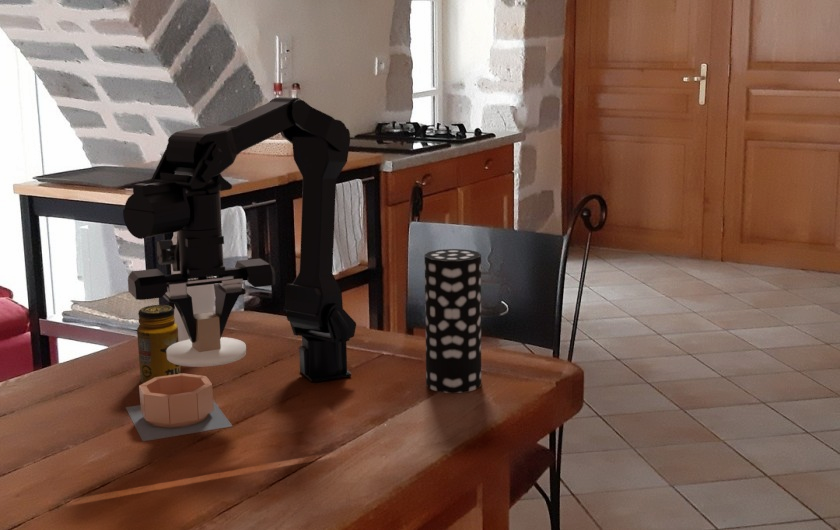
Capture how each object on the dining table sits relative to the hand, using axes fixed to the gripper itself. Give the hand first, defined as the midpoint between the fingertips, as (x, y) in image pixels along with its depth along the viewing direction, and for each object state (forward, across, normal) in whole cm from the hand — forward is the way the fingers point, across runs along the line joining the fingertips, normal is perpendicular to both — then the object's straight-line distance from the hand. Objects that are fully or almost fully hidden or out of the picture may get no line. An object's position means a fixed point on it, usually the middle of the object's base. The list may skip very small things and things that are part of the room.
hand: (205, 340), depth 145 cm
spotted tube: (+12, -37, +2) cm, 39 cm away
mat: (+12, +4, -3) cm, 13 cm away
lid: (+2, 0, 0) cm, 2 cm away
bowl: (+11, +4, -3) cm, 12 cm away
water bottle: (+12, -7, -36) cm, 38 cm away
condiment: (+12, +3, -20) cm, 23 cm away
